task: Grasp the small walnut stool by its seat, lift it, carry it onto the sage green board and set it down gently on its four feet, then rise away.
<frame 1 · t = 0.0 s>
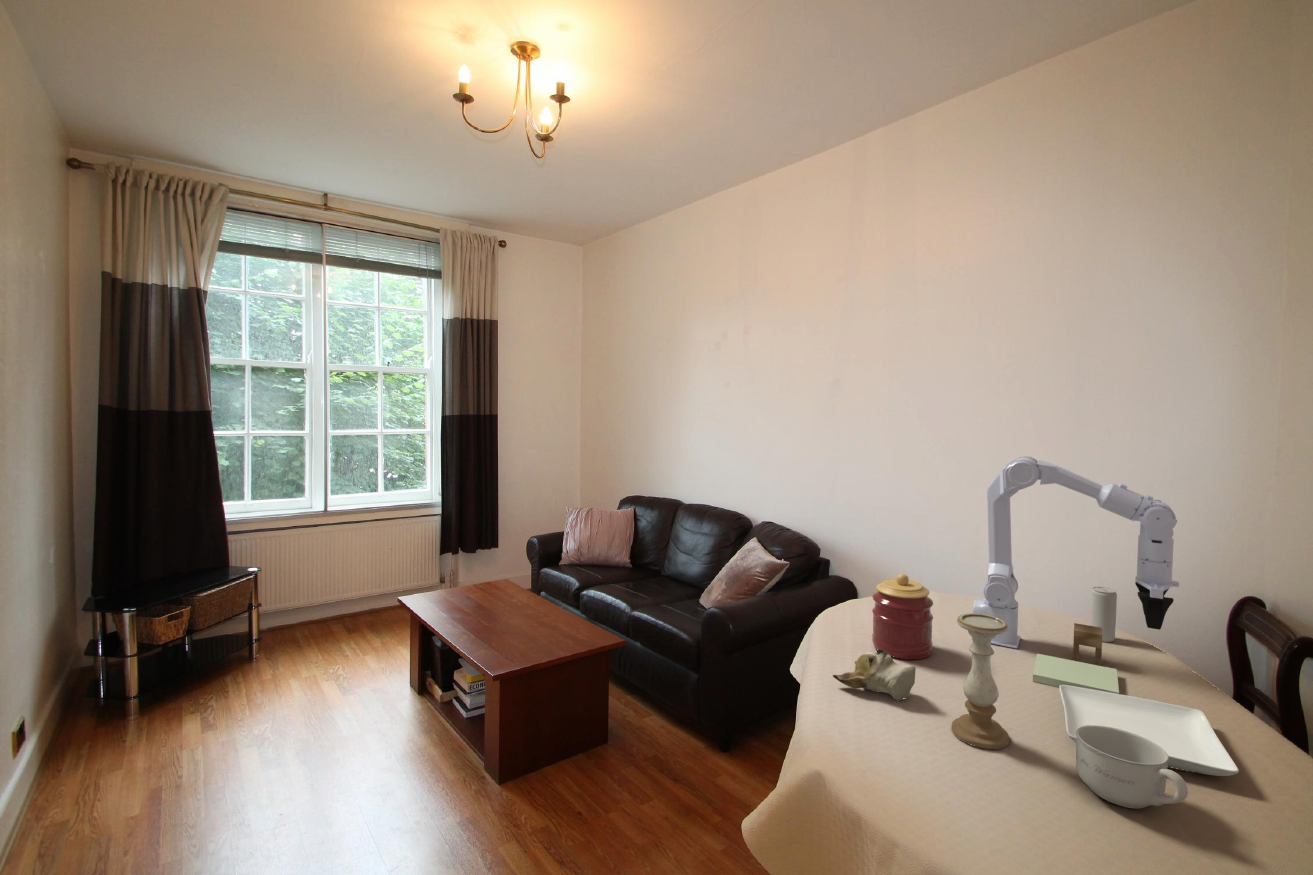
hand: (1152, 622, 128), 10 cm above the table, fingers open, 7 cm apart
teacup: (1128, 802, 88), on the table
sage green board: (1074, 678, 125), on the table
walnut stool: (1086, 659, 133), on the table
salad plate: (1136, 740, 103), on the table
canister: (901, 649, 141), on the table
ceramic sculpture: (877, 691, 121), on the table
candle holder: (979, 736, 105), on the table
beverage can: (1102, 639, 145), on the table
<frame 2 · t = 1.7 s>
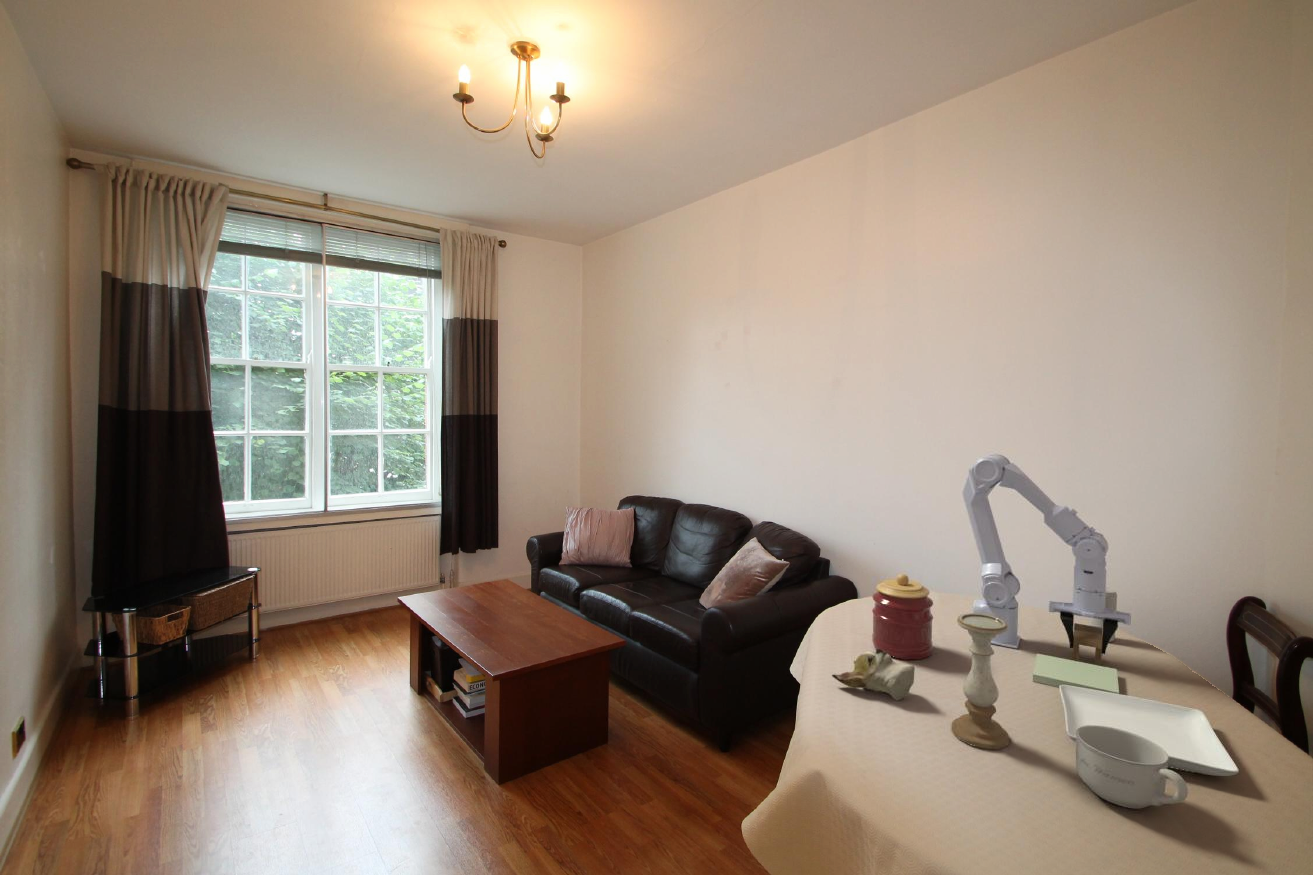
hand: (1087, 649, 133), 2 cm above the table, fingers closed on walnut stool, 5 cm apart
walnut stool: (1086, 659, 133), on the table, touching gripper
everything else where it was.
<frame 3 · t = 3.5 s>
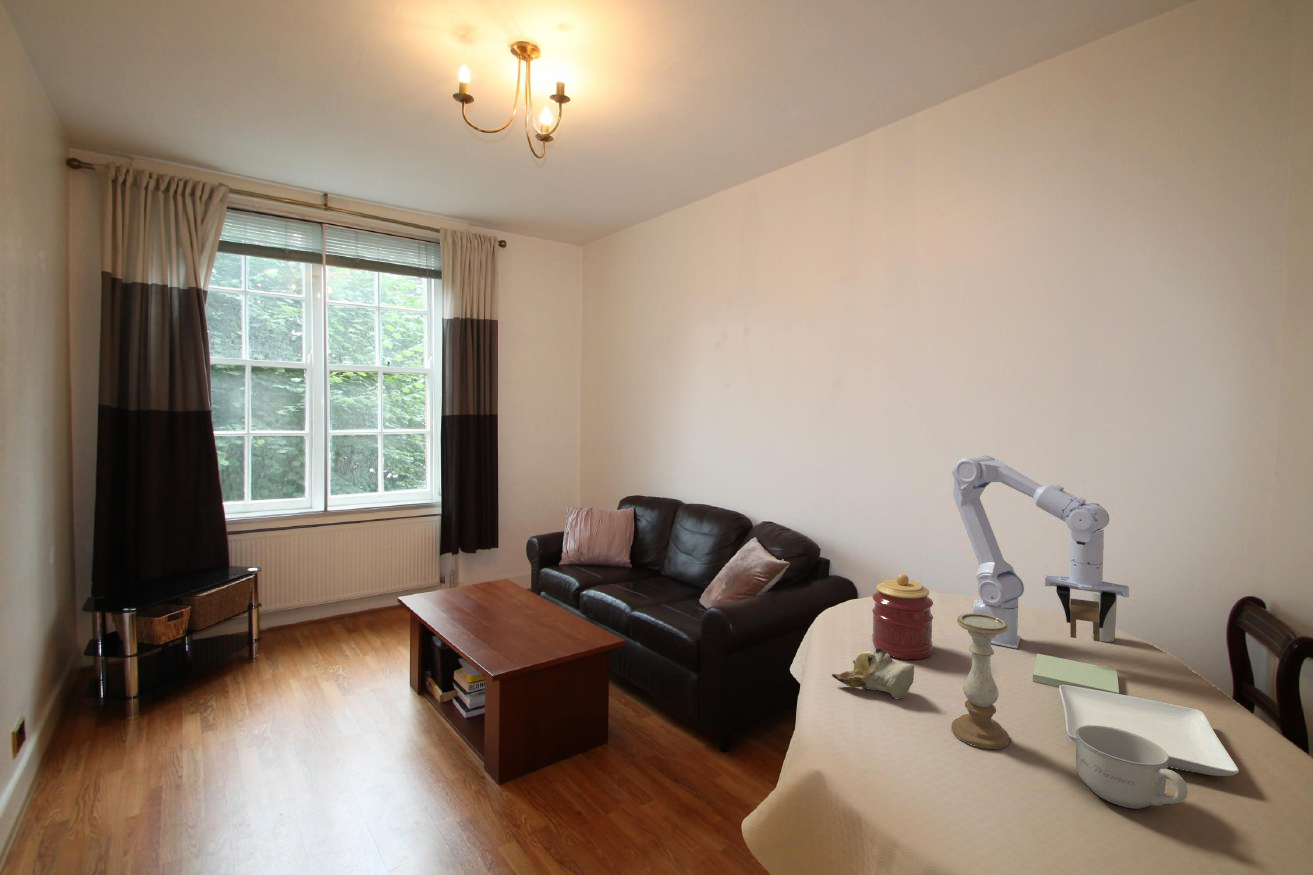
hand: (1084, 623, 130), 9 cm above the table, fingers closed on walnut stool, 5 cm apart
walnut stool: (1084, 635, 130), point 7 cm above the table, touching gripper
everything else where it was.
when the fingers open (5 cm above the table, at t = 5.5 s): walnut stool stays where it is, resting on sage green board.
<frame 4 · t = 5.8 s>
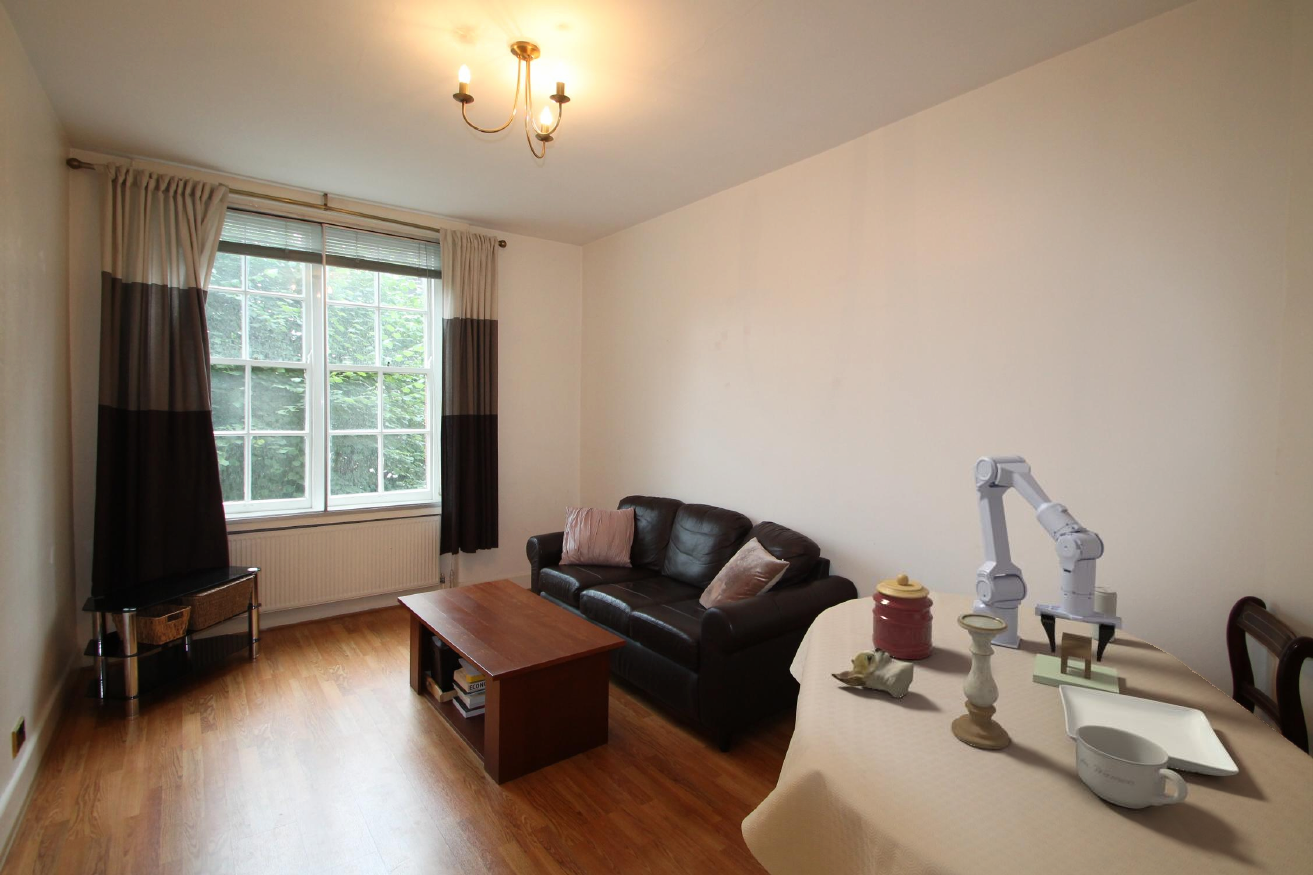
hand: (1075, 655, 125), 5 cm above the table, fingers open, 7 cm apart
walnut stool: (1075, 671, 125), point 1 cm above the table, touching sage green board
everything else where it was.
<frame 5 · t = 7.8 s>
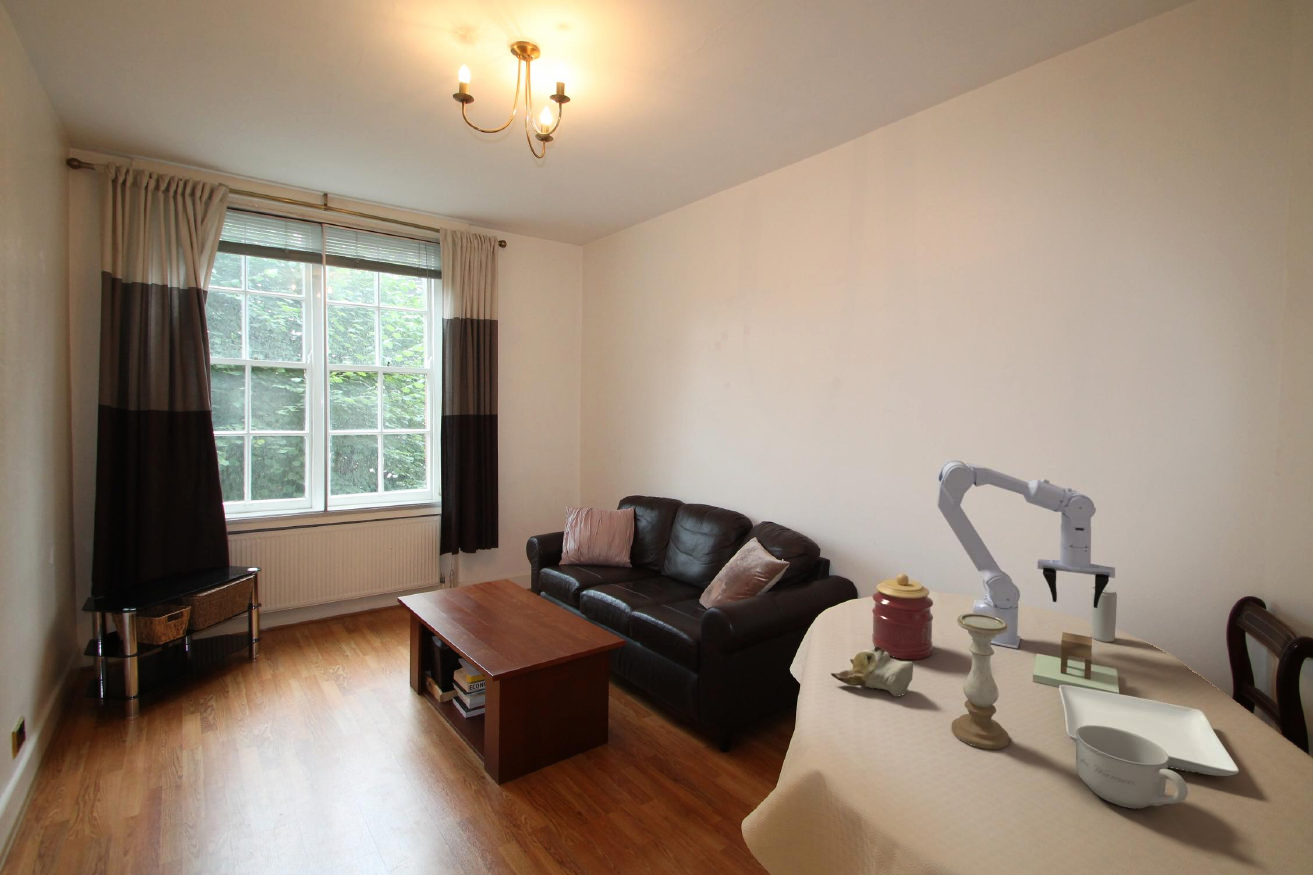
hand: (1074, 603, 139), 10 cm above the table, fingers open, 7 cm apart
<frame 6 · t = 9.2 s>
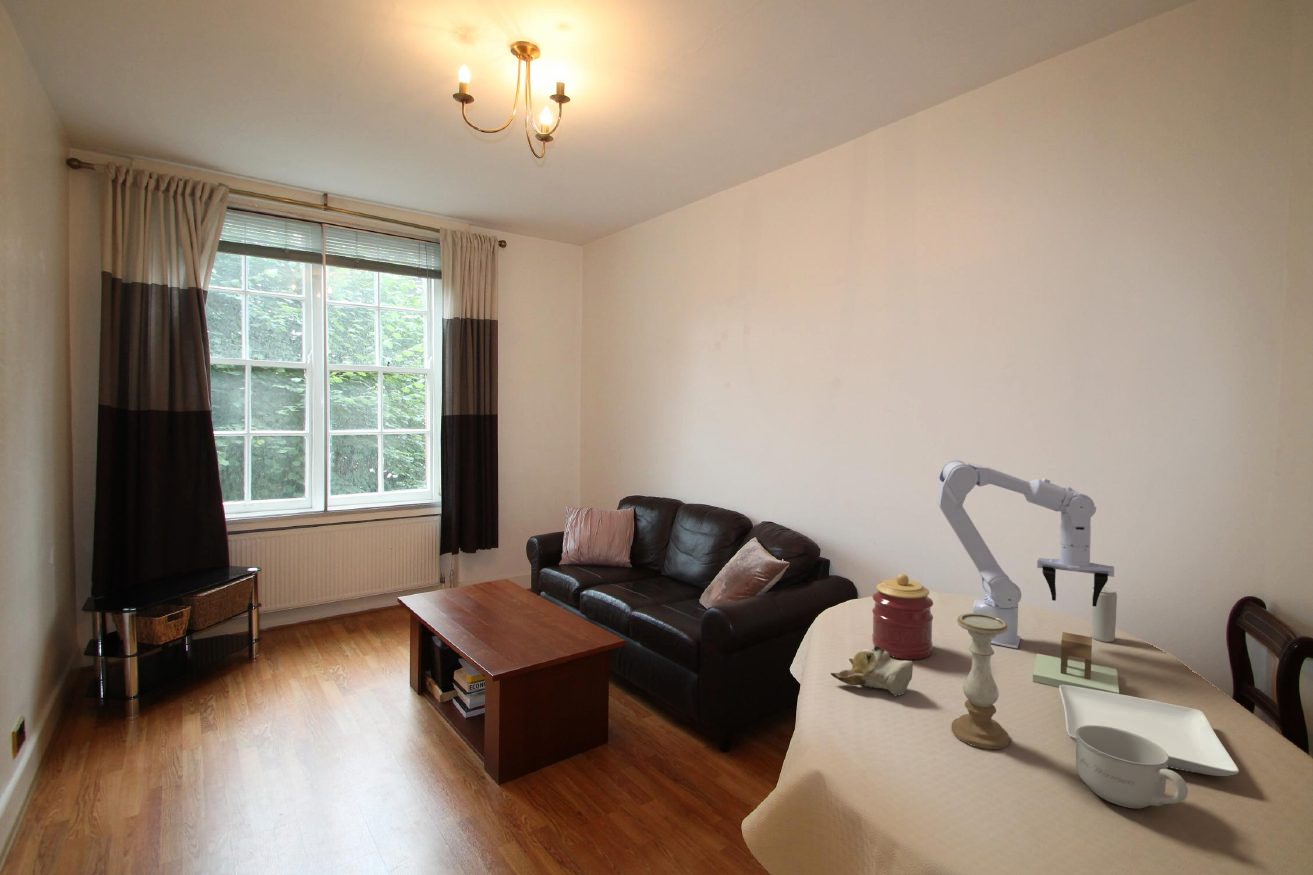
hand: (1073, 602, 140), 10 cm above the table, fingers open, 7 cm apart
at the end: walnut stool inside the target area on the sage green board (0.1 cm from its centre), point 1.5 cm above the sage green board's base; walnut stool tilted 0°; the gripper is holding nothing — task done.
